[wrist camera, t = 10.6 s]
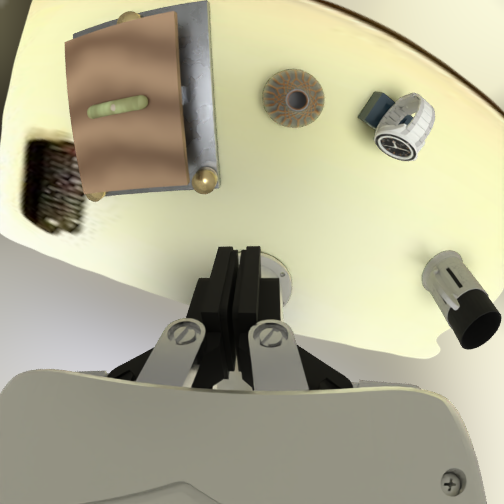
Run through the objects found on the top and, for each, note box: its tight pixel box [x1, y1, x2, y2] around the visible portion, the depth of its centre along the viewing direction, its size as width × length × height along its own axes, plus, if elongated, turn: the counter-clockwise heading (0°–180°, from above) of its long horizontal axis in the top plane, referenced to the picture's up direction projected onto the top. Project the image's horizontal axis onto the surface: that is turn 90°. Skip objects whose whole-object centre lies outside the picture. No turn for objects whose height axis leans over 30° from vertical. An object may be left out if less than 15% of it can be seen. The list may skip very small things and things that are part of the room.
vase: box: [263, 69, 324, 128], centre depth 31 cm, size 7×7×9 cm
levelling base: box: [73, 0, 221, 202], centre depth 33 cm, size 25×19×6 cm
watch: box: [358, 92, 435, 161], centre depth 30 cm, size 6×8×11 cm
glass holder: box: [422, 251, 501, 349], centre depth 39 cm, size 9×14×15 cm, turn 60°
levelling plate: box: [65, 11, 190, 194], centre depth 29 cm, size 20×14×3 cm
